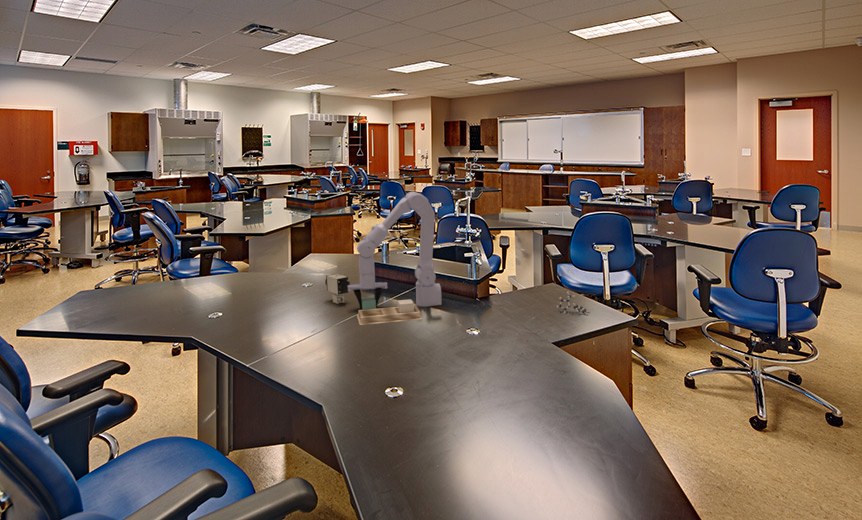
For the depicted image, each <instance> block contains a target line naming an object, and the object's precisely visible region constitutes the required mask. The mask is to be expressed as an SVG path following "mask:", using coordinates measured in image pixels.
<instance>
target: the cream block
mask: <svg viewBox="0 0 862 520" xmlns="http://www.w3.org/2000/svg"><path fill="white" fill-rule="evenodd" d="M396 303H397V307H398V314H399V313H410V312H414V305H415V303H414V301H413V300H412V299H401V300H397V301H396Z"/></svg>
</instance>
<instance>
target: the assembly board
mask: <svg viewBox="0 0 862 520" xmlns="http://www.w3.org/2000/svg"><path fill="white" fill-rule="evenodd" d="M357 313H358V314H356V317H357V320H358V324H359V326H367V325H376V324H386V323H395V322H396V323H397V322H406V321H407V322H408V321H418V320H424V318H423V316H422V312H421V311H420V309H419V308H418V307H417V304H416V305H415V304H414V312H410V313H399V314H398V306H394V307H392V306H391V307H381V308H376V309H368V310H360V309H358V312H357Z"/></svg>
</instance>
